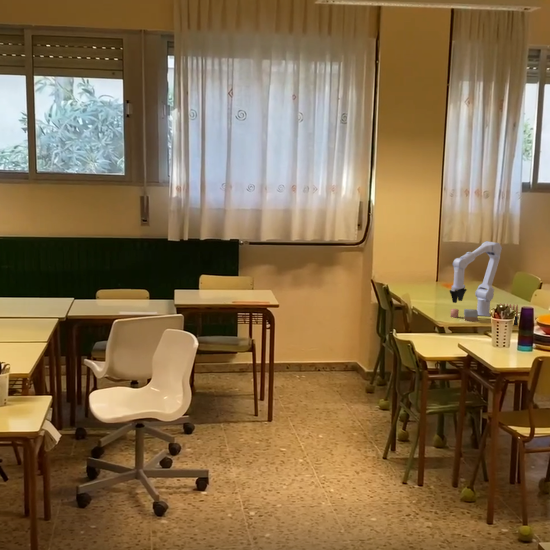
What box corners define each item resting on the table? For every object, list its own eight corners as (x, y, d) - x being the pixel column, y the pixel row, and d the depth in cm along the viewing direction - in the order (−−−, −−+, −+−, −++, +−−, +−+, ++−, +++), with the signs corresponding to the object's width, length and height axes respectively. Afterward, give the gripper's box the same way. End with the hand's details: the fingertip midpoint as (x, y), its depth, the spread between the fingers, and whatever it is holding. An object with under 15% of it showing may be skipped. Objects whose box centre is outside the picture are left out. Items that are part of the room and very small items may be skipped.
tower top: (463, 313, 406) (464, 308, 405) (476, 314, 405) (476, 309, 404) (464, 316, 399) (465, 311, 399) (477, 317, 398) (477, 312, 397)
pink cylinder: (450, 315, 412) (450, 308, 411) (458, 316, 411) (458, 309, 410) (450, 317, 408) (451, 310, 407) (458, 318, 407) (458, 310, 406)
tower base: (464, 318, 407) (464, 313, 406) (476, 319, 405) (476, 314, 405) (464, 321, 400) (465, 316, 399) (477, 322, 398) (477, 317, 398)
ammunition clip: (517, 324, 393) (518, 303, 391) (517, 325, 391) (519, 304, 389) (497, 323, 395) (498, 302, 393) (497, 324, 393) (499, 303, 391)
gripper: (457, 276, 412) (456, 299, 414) (447, 279, 401) (445, 302, 403) (469, 278, 408) (467, 300, 410) (458, 281, 397) (456, 304, 399)
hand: (457, 301), depth 406 cm, fingers open, 7 cm apart
